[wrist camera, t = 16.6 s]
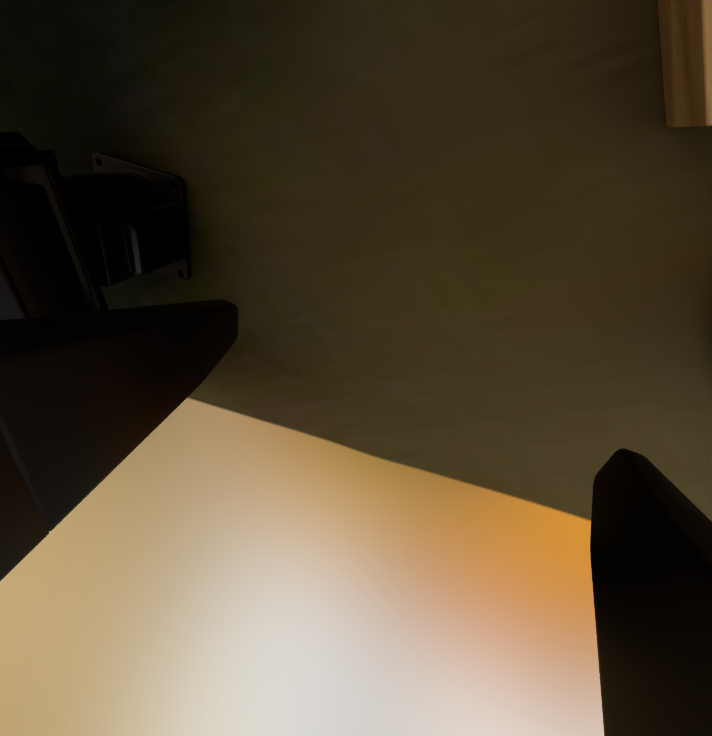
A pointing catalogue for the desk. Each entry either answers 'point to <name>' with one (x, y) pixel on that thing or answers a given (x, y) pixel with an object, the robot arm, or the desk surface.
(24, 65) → the desk surface
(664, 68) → the square wooden frame
